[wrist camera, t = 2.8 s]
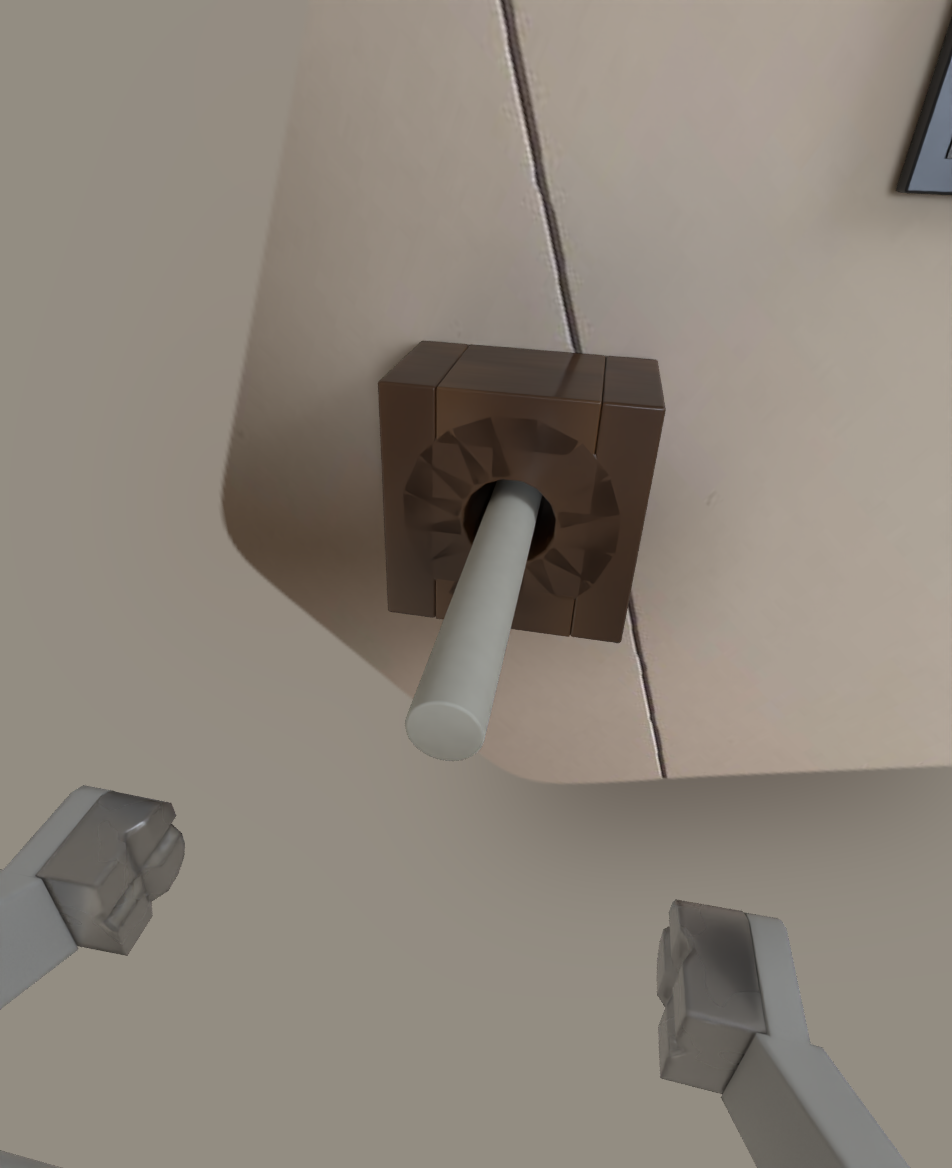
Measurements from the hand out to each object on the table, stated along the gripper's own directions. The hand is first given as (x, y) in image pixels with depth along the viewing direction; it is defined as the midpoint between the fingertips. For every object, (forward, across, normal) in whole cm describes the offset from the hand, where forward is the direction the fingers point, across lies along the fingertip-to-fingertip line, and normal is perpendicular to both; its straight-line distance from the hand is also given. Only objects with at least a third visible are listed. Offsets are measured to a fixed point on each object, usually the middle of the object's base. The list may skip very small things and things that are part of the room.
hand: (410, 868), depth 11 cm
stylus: (+17, 0, 0) cm, 17 cm away
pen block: (+17, 0, 0) cm, 17 cm away
